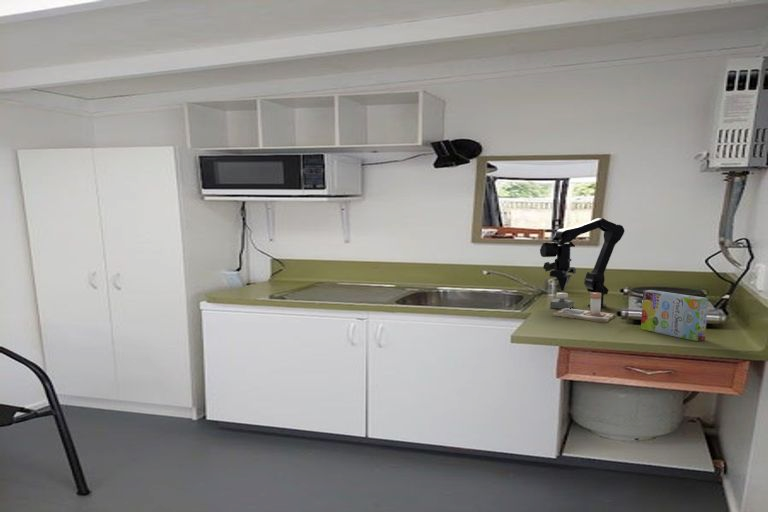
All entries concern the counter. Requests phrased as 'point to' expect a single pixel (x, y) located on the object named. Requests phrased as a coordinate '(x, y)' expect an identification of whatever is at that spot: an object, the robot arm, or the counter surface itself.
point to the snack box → (674, 314)
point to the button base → (561, 304)
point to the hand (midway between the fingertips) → (562, 290)
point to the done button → (562, 296)
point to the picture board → (584, 315)
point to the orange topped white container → (595, 303)
